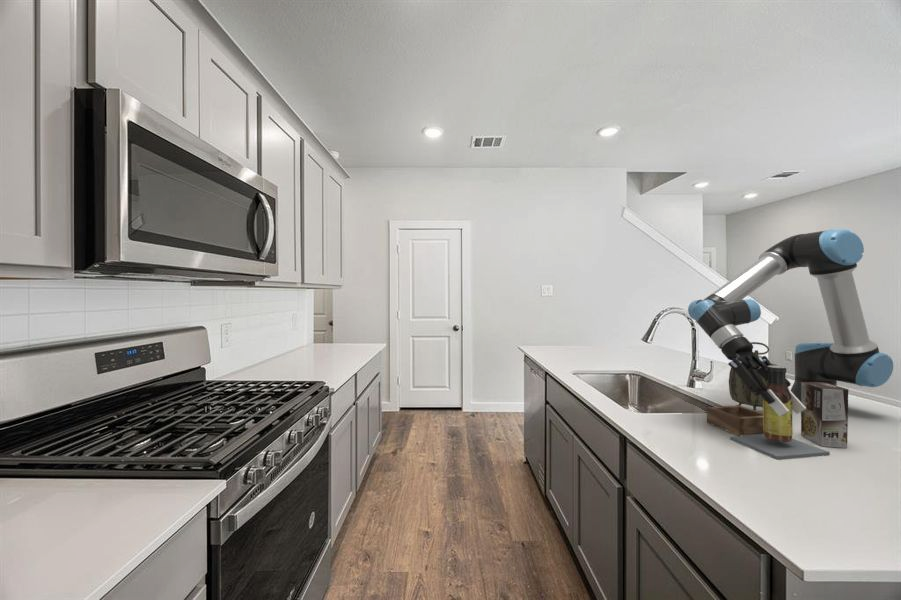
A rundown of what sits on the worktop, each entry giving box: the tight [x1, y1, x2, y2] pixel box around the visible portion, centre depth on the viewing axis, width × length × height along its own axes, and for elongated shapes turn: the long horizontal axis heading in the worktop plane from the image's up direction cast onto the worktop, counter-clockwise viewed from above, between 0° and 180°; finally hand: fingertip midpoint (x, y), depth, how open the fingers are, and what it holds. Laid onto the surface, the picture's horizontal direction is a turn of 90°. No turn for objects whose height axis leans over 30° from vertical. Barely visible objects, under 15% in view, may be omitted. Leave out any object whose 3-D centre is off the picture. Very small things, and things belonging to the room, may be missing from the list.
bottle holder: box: [706, 404, 764, 436], centre depth 125 cm, size 12×12×5 cm
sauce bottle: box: [762, 365, 793, 442], centre depth 109 cm, size 6×6×20 cm
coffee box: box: [800, 382, 849, 449], centre depth 113 cm, size 9×6×16 cm
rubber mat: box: [729, 434, 831, 460], centre depth 110 cm, size 16×14×1 cm
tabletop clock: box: [728, 341, 779, 411], centre depth 138 cm, size 14×9×25 cm, turn 43°
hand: (792, 412), depth 106 cm, fingers closed on sauce bottle, 6 cm apart
